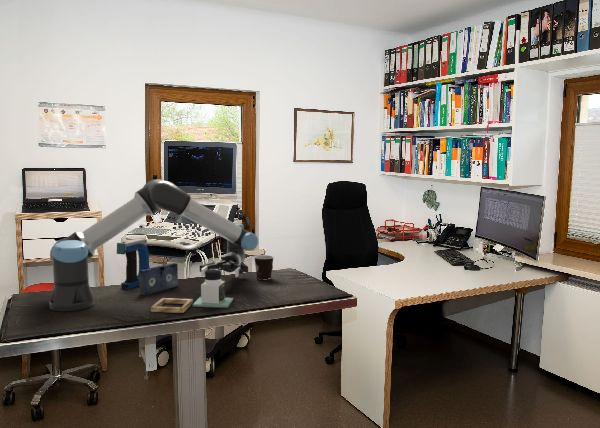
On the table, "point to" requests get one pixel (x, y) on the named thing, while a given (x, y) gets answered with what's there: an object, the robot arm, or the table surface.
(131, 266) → the handheld scanner
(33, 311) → the table surface
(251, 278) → the table surface
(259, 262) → the coffee mug
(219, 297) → the medicine bottle
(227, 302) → the rubber mat
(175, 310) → the oak cradle
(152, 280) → the vhs cassette tape
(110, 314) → the table surface
